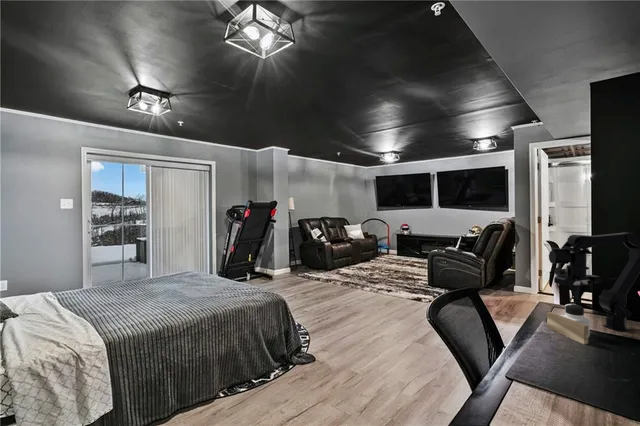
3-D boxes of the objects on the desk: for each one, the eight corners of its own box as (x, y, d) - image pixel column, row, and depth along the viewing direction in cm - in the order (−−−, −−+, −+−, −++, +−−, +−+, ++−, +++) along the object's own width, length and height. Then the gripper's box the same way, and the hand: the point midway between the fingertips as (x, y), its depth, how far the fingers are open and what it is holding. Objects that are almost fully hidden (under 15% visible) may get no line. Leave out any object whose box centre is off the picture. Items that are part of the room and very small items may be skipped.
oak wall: (551, 328, 137) (551, 312, 137) (588, 343, 122) (588, 325, 121) (547, 328, 137) (547, 312, 137) (583, 344, 121) (583, 326, 121)
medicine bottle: (590, 336, 128) (590, 307, 128) (575, 338, 127) (575, 308, 127) (573, 330, 135) (573, 302, 135) (558, 331, 134) (559, 303, 134)
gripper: (577, 259, 147) (577, 293, 148) (543, 261, 144) (543, 295, 145) (603, 264, 136) (602, 300, 137) (566, 266, 133) (566, 303, 134)
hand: (577, 299), depth 138 cm, fingers closed
